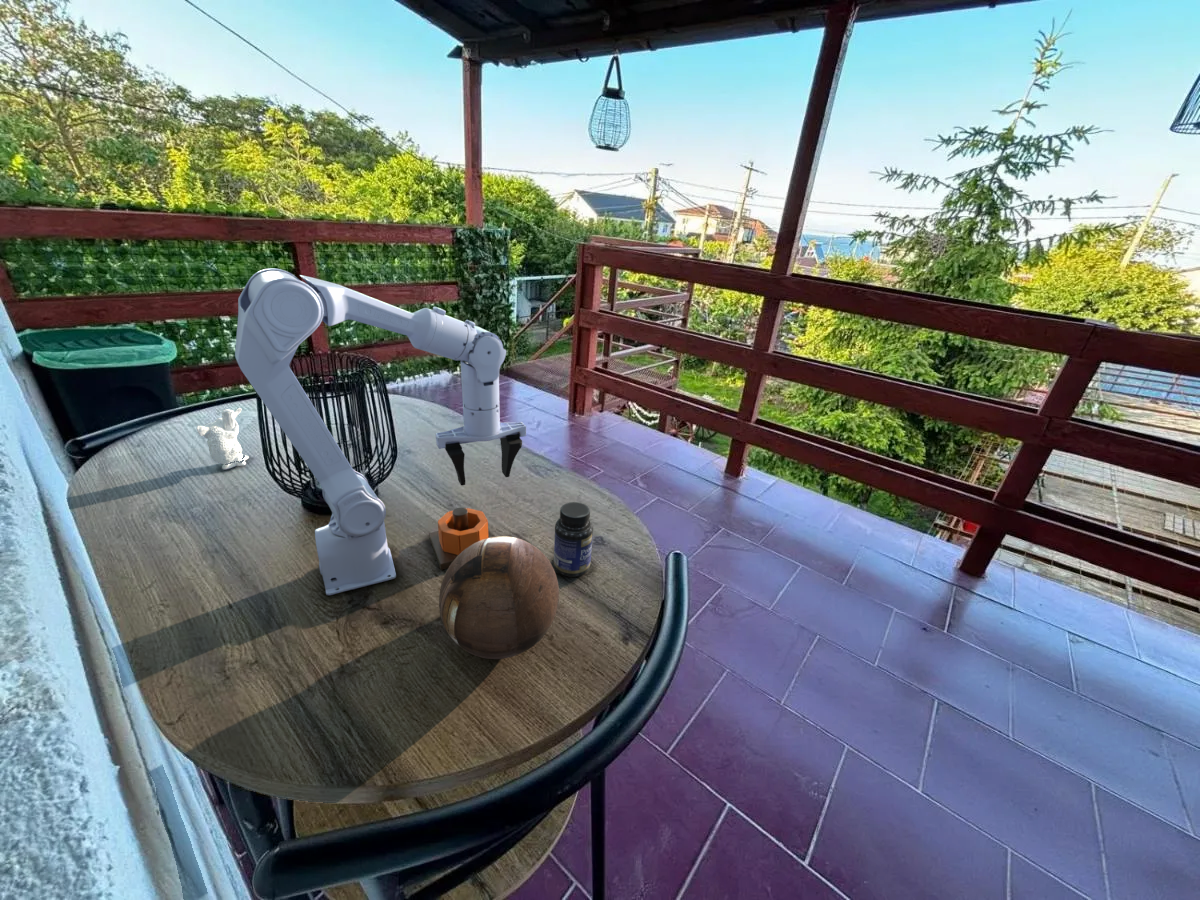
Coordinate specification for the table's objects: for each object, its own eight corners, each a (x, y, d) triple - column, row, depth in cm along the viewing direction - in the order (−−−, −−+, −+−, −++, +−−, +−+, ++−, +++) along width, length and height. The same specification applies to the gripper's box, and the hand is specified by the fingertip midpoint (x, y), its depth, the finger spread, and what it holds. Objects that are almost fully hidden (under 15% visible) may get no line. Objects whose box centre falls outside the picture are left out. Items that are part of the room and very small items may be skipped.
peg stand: (441, 569, 76) (437, 532, 73) (429, 538, 83) (425, 503, 80) (496, 555, 80) (495, 519, 77) (480, 526, 87) (479, 492, 84)
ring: (446, 559, 77) (444, 539, 75) (436, 533, 83) (434, 514, 81) (492, 547, 80) (492, 528, 78) (480, 523, 86) (479, 504, 84)
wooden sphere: (540, 589, 74) (542, 507, 67) (571, 667, 61) (578, 575, 55) (438, 611, 68) (429, 524, 62) (450, 702, 56) (441, 604, 49)
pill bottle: (585, 581, 76) (589, 523, 71) (548, 574, 77) (550, 516, 72) (593, 557, 82) (598, 502, 77) (559, 551, 83) (561, 496, 78)
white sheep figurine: (248, 453, 105) (234, 402, 100) (263, 463, 102) (249, 410, 97) (202, 466, 99) (185, 412, 94) (216, 477, 96) (199, 422, 91)
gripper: (516, 391, 83) (516, 461, 89) (429, 400, 76) (435, 475, 82) (530, 405, 77) (530, 478, 83) (438, 416, 71) (445, 495, 77)
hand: (484, 478), depth 82 cm, fingers open, 7 cm apart
